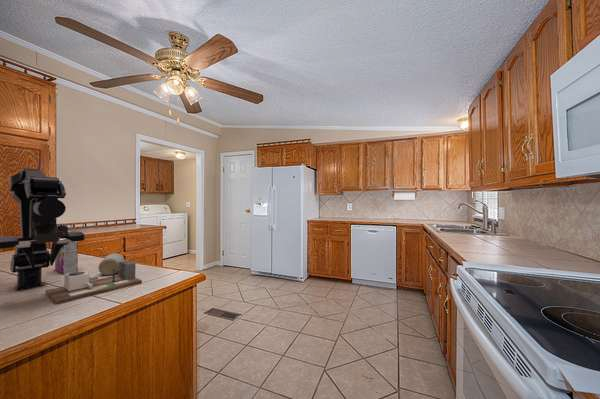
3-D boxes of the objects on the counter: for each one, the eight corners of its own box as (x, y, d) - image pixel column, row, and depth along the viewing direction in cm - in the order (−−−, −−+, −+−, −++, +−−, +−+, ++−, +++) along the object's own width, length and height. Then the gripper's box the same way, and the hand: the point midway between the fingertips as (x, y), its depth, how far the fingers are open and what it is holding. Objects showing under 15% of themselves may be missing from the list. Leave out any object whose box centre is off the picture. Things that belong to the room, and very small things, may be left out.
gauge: (64, 287, 81) (64, 273, 81) (94, 280, 88) (94, 268, 88) (72, 294, 76) (72, 279, 76) (103, 286, 82) (104, 273, 82)
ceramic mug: (96, 277, 96) (97, 257, 96) (103, 271, 103) (104, 253, 103) (129, 274, 101) (129, 256, 101) (132, 269, 108) (133, 252, 108)
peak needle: (112, 282, 85) (112, 269, 85) (114, 281, 85) (114, 268, 85) (113, 282, 84) (113, 269, 84) (115, 282, 85) (115, 269, 85)
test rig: (45, 293, 79) (45, 272, 79) (126, 275, 98) (126, 258, 98) (55, 304, 71) (55, 280, 71) (141, 283, 90) (142, 264, 90)
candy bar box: (53, 270, 104) (54, 232, 104) (69, 267, 108) (69, 231, 108) (61, 275, 98) (62, 234, 98) (78, 272, 102) (78, 233, 102)
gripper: (-2, 220, 63) (-4, 279, 63) (90, 216, 78) (89, 264, 78) (-6, 217, 69) (-7, 271, 69) (80, 215, 84) (79, 259, 84)
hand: (42, 266), depth 75 cm, fingers open, 4 cm apart
